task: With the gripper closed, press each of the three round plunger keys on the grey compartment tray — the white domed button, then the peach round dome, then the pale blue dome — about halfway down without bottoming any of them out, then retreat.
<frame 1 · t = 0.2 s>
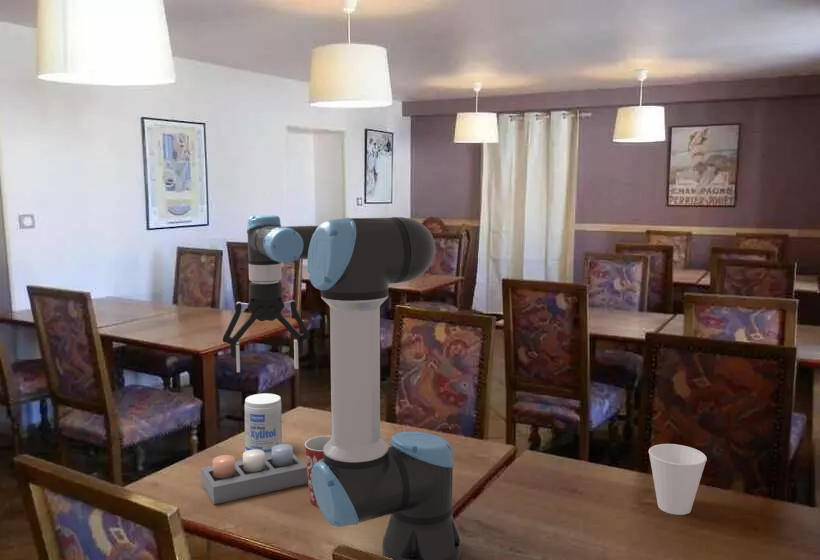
hand: (267, 369, 164), 27 cm above the table, fingers open, 13 cm apart
supplement tub: (264, 452, 183), on the table
white domed button: (253, 460, 162), point 6 cm above the table, slide at 0.0 cm
grey compartment tray: (254, 483, 163), on the table
peach round dome: (224, 466, 159), point 6 cm above the table, slide at 0.0 cm
pale blue dome: (282, 454, 166), point 6 cm above the table, slide at 0.0 cm
cup: (674, 508, 151), on the table
mug: (330, 497, 156), on the table
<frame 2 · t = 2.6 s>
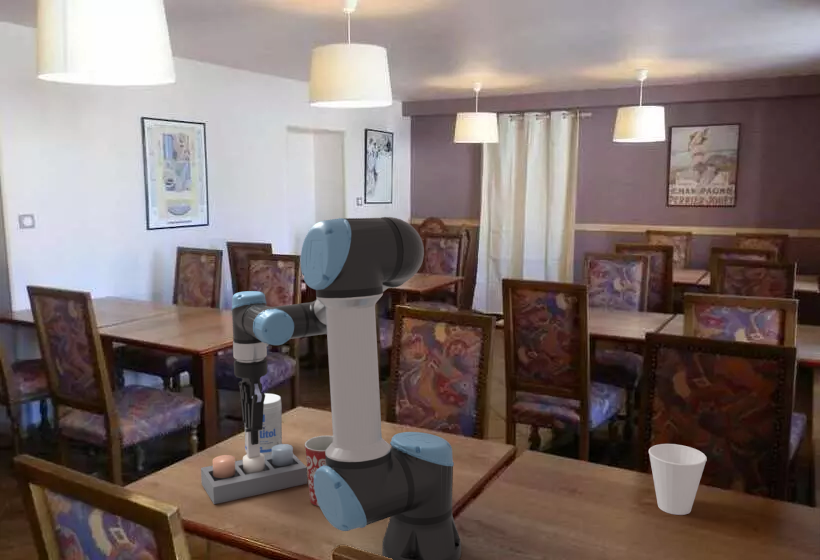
hand: (253, 455, 162), 7 cm above the table, fingers closed
white domed button: (253, 463, 162), point 5 cm above the table, slide at 0.8 cm, touching gripper
everything else where it was.
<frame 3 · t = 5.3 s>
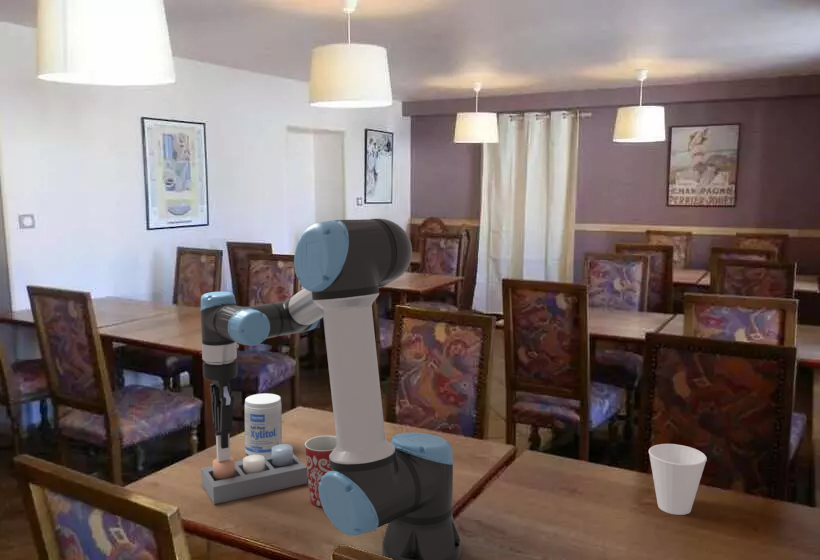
hand: (223, 459, 159), 7 cm above the table, fingers closed
white domed button: (254, 465, 162), point 4 cm above the table, slide at 1.3 cm
peach round dome: (224, 468, 159), point 5 cm above the table, slide at 0.4 cm, touching gripper
everything else where it was.
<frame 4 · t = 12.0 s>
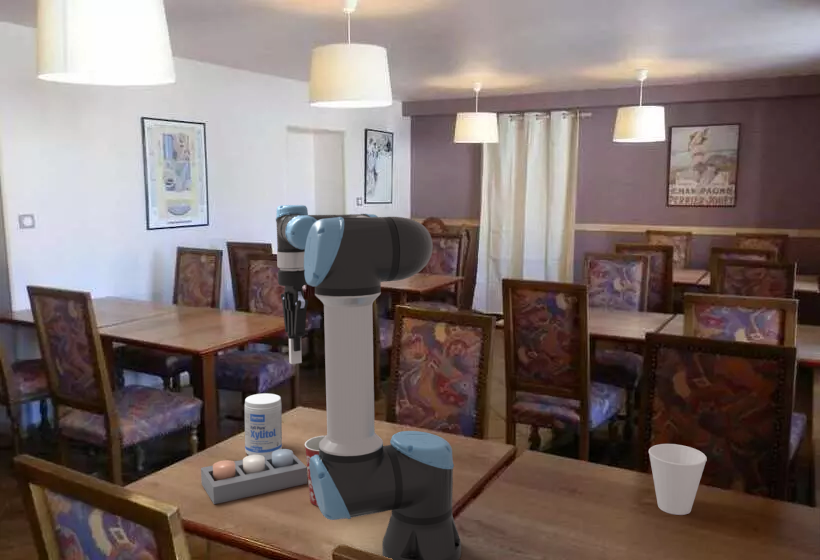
hand: (295, 362, 171), 26 cm above the table, fingers closed
peach round dome: (224, 471, 159), point 4 cm above the table, slide at 1.3 cm
pale blue dome: (282, 459, 166), point 5 cm above the table, slide at 1.2 cm
everything else where it was.
at the end: white domed button slide at 1.3 cm; peach round dome slide at 1.3 cm; pale blue dome slide at 1.2 cm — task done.
